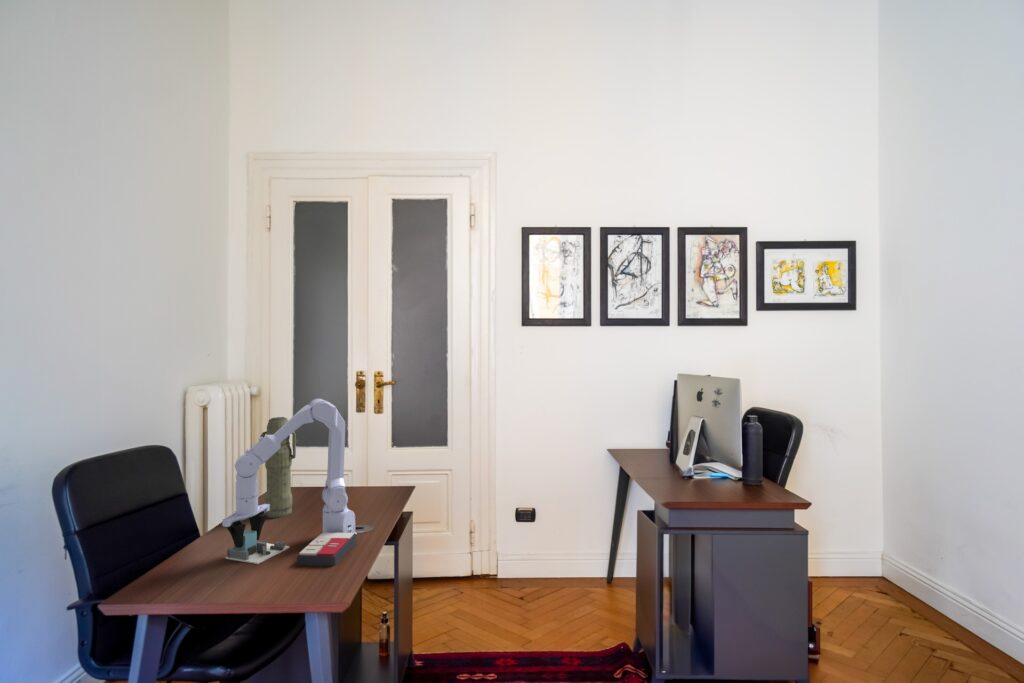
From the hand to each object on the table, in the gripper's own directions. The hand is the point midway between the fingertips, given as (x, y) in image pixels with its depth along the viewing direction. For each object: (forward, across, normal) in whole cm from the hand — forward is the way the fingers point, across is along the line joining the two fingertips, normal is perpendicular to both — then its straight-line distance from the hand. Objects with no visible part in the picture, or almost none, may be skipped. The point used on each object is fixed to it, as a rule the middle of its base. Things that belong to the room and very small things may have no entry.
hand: (247, 543), depth 141 cm
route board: (+3, -2, +2) cm, 4 cm away
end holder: (+3, 0, 0) cm, 3 cm away
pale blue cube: (+3, 0, -1) cm, 3 cm away
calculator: (+4, -8, +22) cm, 24 cm away
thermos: (+4, -31, -20) cm, 37 cm away
